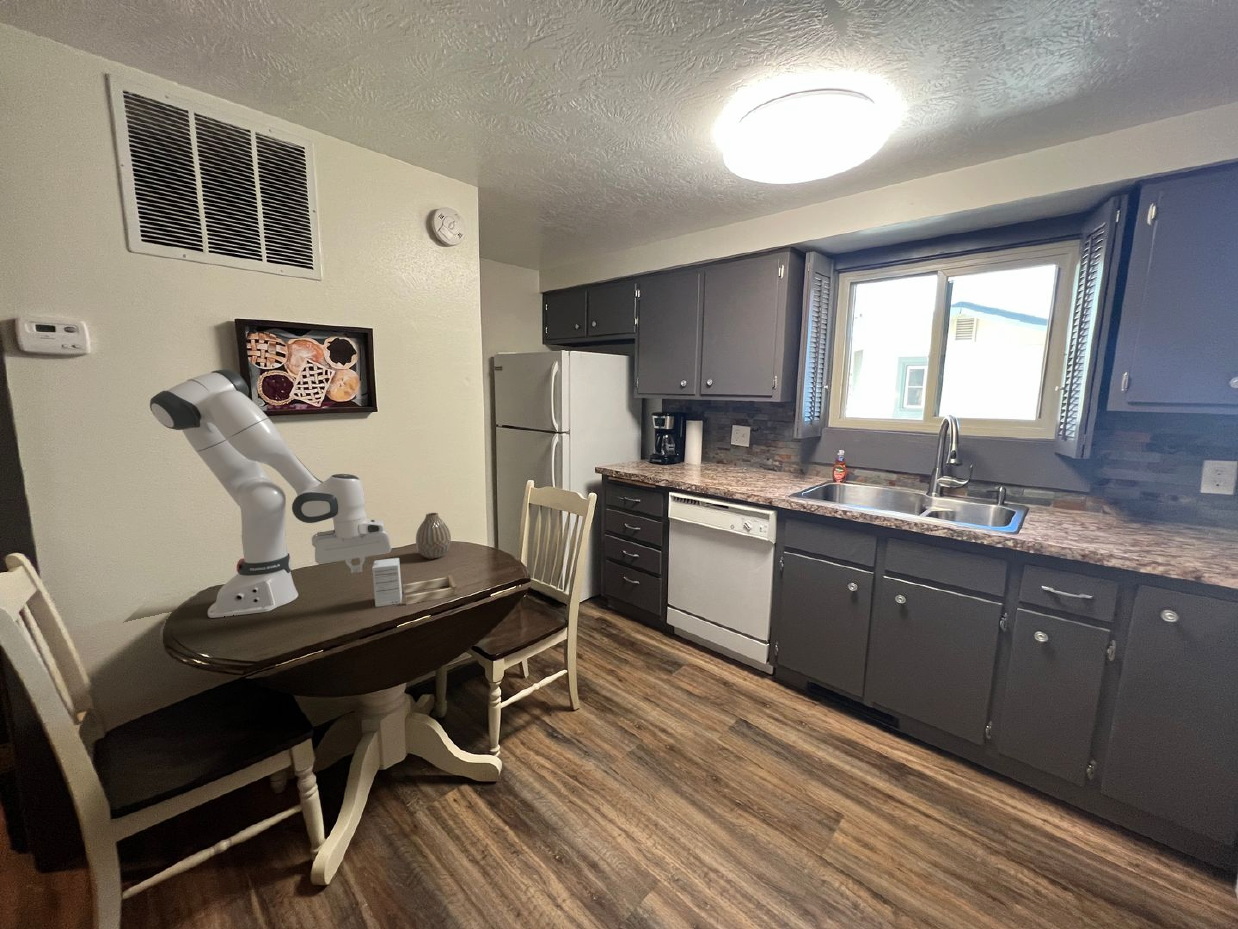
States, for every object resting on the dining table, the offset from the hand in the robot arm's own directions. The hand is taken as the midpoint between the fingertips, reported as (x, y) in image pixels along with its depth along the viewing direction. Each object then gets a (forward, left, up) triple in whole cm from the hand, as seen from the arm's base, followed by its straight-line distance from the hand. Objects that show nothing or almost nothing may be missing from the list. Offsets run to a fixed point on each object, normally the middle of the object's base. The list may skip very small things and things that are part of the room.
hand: (356, 571), depth 148 cm
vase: (+26, +39, -11) cm, 48 cm away
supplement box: (+8, 0, -11) cm, 14 cm away
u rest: (+20, 0, -11) cm, 23 cm away
